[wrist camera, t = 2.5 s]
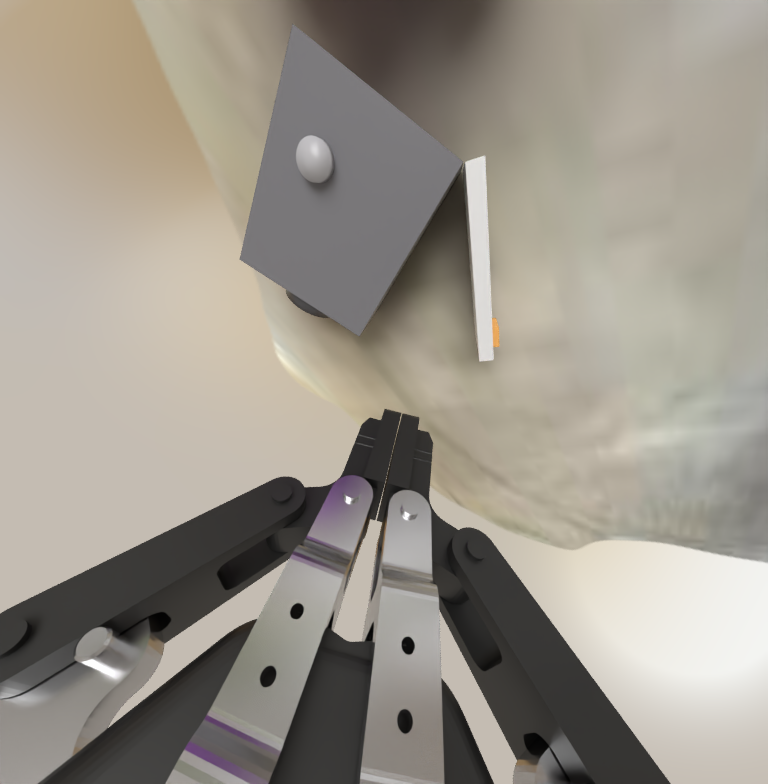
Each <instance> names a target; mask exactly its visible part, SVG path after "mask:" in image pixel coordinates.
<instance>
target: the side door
mask: <svg viewBox="0 0 768 784" xmlns="http://www.w3.org/2000/svg"><path fill="white" fill-rule="evenodd" d="M463 180H464V193H465V207H466V220H467V233H468V246H469V259H470V273H471V286H472V299H473V312H474V325H475V336H476V342H477V349H478V356H479V362H480V361H488V360H494V356H493V347H499V326H498V323H497V320H496V318H492V308H491V284H490V260H489V235H488V211H487V187H486V163H485V156H482V157H479V158H475V159H472V160H469V161H466V162H465V164H464V167H463Z"/></svg>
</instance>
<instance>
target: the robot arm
mask: <svg viewBox="0 0 768 784" xmlns="http://www.w3.org/2000/svg"><path fill="white" fill-rule="evenodd" d="M400 416H401V413H399V412H395V411H391V410H387V409H385V410H384V413H383V416H382V419H381V420H377V419H373V418H369V419H368V420H367V421H365V422H364V423H363V424H362V426H361V428H360V431H359V434H358V436H357V438H356V441H355V444H354V446H353V448H352V451H351V454H350V456H349V459H348V461H347V464H346V466H345V469H344V471H343V473H342V475H341V477H340V478H339V479H338V480H337V481H335V482H334V483H332V484H330V485H328V486H323V487H307V488H306V487H304V486H303V484H302V483H301V482H300V481H299V480H297V479H295V478H292V477H279V478H276V479H273V480H271V481H269V482H267V483H265V484H263V485H261V486H259V487H257V488H255V489H253V490H251V491H249V492H247V493H245V494H242V495H240V496H238V497H236V498H234V499H232V500H231V501H228V502H226V503H224V504H222V505H220V506H218V507H216V508H214V509H212V510H210V511H208V512H206V513H204V514H202V515H199V516H198V517H196V518H194V519H191V520H189V521H187V522H185V523H183V524H181V525H179V526H177V527H175V528H173V529H171V530H169V531H167V532H165V533H163V534H161V535H158V536H156V537H154V538H152V539H150V540H148V541H146V542H144V543H142V544H140V545H138V546H136V547H134V548H132V549H130V550H128V551H126V552H124V553H122V554H120V555H117V556H115V557H113V558H111V559H109V560H107V561H105V562H103V563H101V564H99V565H97V566H95V567H93V568H91V569H89V570H87V571H85V572H83V573H81V574H79V575H77V576H74V577H73V578H70V579H68V580H67V581H64V582H62V583H60V584H58V585H56V586H54V587H52V588H50V589H48V590H46V591H44V592H42V593H40V594H38V595H36V596H34V597H31V598H30V599H28V600H26V601H23V602H21V603H19V604H17V605H15V606H13V607H11V608H9V609H7V610H6V611H4V612H2V613H1V614H0V784H494V783H493V780H492V778H491V776H490V774H489V771H488V770H487V767H486V764H485V762H484V760H483V757H482V755H481V753H480V751H479V748H478V746H477V744H476V741H475V739H474V737H473V735H472V732H471V730H470V728H469V725H468V723H467V721H466V719H465V716H464V714H463V712H462V710H461V708H460V706H459V704H458V702H457V700H456V698H455V697H454V695H453V693H452V692H451V690H450V689H449V687H448V686H447V685H446V683H445V682H444V681H443V679H442V678H441V655H440V654H441V653H440V623H439V621H440V620H439V610H440V612H441V614H442V616H443V618H444V620H445V622H446V624H447V625H448V627H449V629H450V631H451V633H452V635H453V637H454V639H455V641H456V643H457V645H458V647H459V648H460V651H461V652H462V655H463V656H464V658H465V660H466V662H467V664H468V666H469V668H470V670H471V672H472V674H473V676H474V678H475V680H476V682H477V684H478V686H479V687H480V689H481V691H482V693H483V695H484V697H485V699H486V701H487V703H488V705H489V707H490V709H491V711H492V713H493V715H494V716H495V718H496V720H497V722H498V724H499V726H500V728H501V730H502V732H503V734H504V736H505V738H506V740H507V742H508V743H509V746H510V747H511V749H512V751H513V753H514V755H515V757H516V759H517V763H516V765H515V769H514V775H513V784H670V782H669V781H668V780H667V778H666V777H665V776H664V774H663V773H662V771H661V770H660V769H659V767H658V766H657V765H656V763H655V762H654V761H653V759H652V758H651V757H650V755H649V754H648V752H647V751H646V750H645V749H644V747H643V746H642V745H641V743H640V742H639V740H638V739H637V738H636V736H635V735H634V734H633V732H632V731H631V729H630V728H629V727H628V725H627V724H626V723H625V721H624V720H623V719H622V717H621V716H620V714H619V713H618V712H617V710H616V709H615V708H614V706H613V705H612V704H611V702H610V701H609V700H608V698H607V697H606V696H605V694H604V693H603V692H602V690H601V689H600V687H599V686H598V685H597V683H596V682H595V681H594V679H593V678H592V677H591V675H590V674H589V673H588V671H587V670H586V668H585V667H584V666H583V665H582V663H581V662H580V660H579V659H578V658H577V656H576V655H575V653H574V652H573V651H572V650H571V648H570V647H569V645H568V644H567V643H566V641H565V640H564V639H563V637H562V636H561V635H560V633H559V632H558V630H557V629H556V628H555V626H554V625H553V624H552V623H551V621H550V620H549V618H548V617H547V616H546V614H545V613H544V612H543V610H542V609H541V608H540V606H539V605H538V603H537V602H536V601H535V599H534V598H533V597H532V595H531V594H530V593H529V591H528V590H527V589H526V587H525V586H524V584H523V583H522V582H521V580H520V579H519V578H518V577H517V575H516V574H515V572H514V571H513V569H512V568H511V567H510V565H509V564H508V563H507V561H506V560H505V559H504V557H503V556H502V555H501V553H500V552H499V551H498V549H497V548H496V546H495V545H494V544H493V542H492V541H491V540H490V539H489V538H488V537H487V536H486V535H485V534H484V533H482V532H481V531H479V530H477V529H474V528H462V529H460V530H457V529H456V528H454V527H453V526H451V525H449V524H448V523H446V522H445V521H443V520H442V519H441V518H440V517H438V516H437V514H436V513H435V512H434V510H433V509H432V507H431V504H430V501H429V488H430V475H431V462H432V449H433V442H432V439H431V437H430V434H429V433H428V432H425V431H421V430H418V424H419V417H415V416H411V415H407V414H402V418H401V422H400V425H399V421H400ZM398 425H399V429H398ZM397 429H398V433H397ZM396 434H397V437H396ZM395 438H396V441H395ZM394 442H395V445H394ZM393 446H394V449H393ZM392 451H393V453H392ZM391 455H392V457H391ZM390 459H391V462H390ZM389 464H390V466H389ZM388 468H389V470H388ZM387 472H388V475H387ZM386 476H387V479H386ZM385 481H386V483H385ZM384 485H385V488H384ZM383 488H384V492H383ZM382 492H383V496H382ZM381 496H382V501H381V505H380V510H379V514H378V518H377V521H380V522H382V526H381V531H380V536H379V539H378V542H377V548H376V555H375V562H374V569H373V576H372V584H371V591H370V598H369V604H368V610H367V614H366V620H365V625H364V632H363V638H362V642H349V641H346V640H344V639H343V638H342V637H340V636H339V635H337V634H336V633H334V632H333V629H334V627H335V623H336V620H337V617H338V614H339V611H340V608H341V604H342V601H343V598H344V594H345V591H346V588H347V585H348V582H349V580H350V577H351V574H352V571H353V568H354V564H355V562H356V559H357V556H358V553H359V550H360V547H361V544H362V541H363V539H364V538H365V535H366V533H367V529H368V525H369V521H370V519H373V520H375V519H376V515H377V511H378V507H379V503H380V500H381ZM289 558H290V559H289ZM288 559H289V560H288ZM286 560H288V563H287V564H286V566H285V568H284V570H283V572H282V574H281V576H280V578H279V579H278V581H277V583H276V585H275V587H274V589H273V591H272V593H271V595H270V597H269V598H268V601H267V602H266V604H265V606H264V608H263V610H262V612H261V614H260V615H259V618H258V619H255V620H252V621H250V622H247V623H245V624H243V625H241V626H239V627H237V628H236V629H234V630H233V631H231V632H229V633H228V634H227V635H225V636H224V637H223V638H221V639H220V640H219V641H218V642H216V643H215V644H214V645H213V646H211V647H210V648H209V649H207V650H206V651H205V652H204V653H202V654H201V655H200V656H199V657H198V658H196V659H195V660H194V661H192V662H191V663H190V664H189V665H187V666H186V667H185V668H183V669H182V670H181V671H180V672H178V673H177V674H176V675H175V676H173V677H172V678H171V679H170V680H168V681H167V682H166V683H165V684H163V685H162V686H161V687H159V688H158V689H157V690H156V691H154V692H153V693H152V694H151V695H149V696H148V697H147V698H146V699H144V700H143V701H142V702H140V703H139V704H138V705H137V706H135V707H134V708H133V709H132V710H130V711H129V712H128V713H127V714H125V715H124V716H123V717H122V718H120V719H119V720H118V721H116V722H115V723H114V724H113V725H112V726H110V727H109V728H108V726H109V725H110V723H111V721H112V719H113V718H114V716H115V715H116V713H117V712H118V711H119V710H120V708H121V707H122V706H123V705H124V703H126V701H127V700H128V699H129V698H131V697H132V696H133V695H134V694H135V693H136V692H137V691H138V690H140V689H141V688H142V687H143V686H144V685H145V684H146V682H147V681H148V680H149V679H150V678H151V676H152V675H153V673H154V672H155V670H156V669H157V667H158V665H159V663H160V660H161V658H162V655H163V650H164V644H165V643H166V642H168V641H169V640H170V639H172V638H173V637H175V636H176V635H178V634H179V633H181V632H182V631H184V630H185V629H187V628H188V627H190V626H191V625H192V624H194V623H195V622H197V621H198V620H200V619H201V618H203V617H204V616H205V615H207V614H209V613H210V612H212V611H213V610H215V609H216V608H217V607H219V606H220V605H222V604H223V603H225V602H226V601H227V600H229V599H231V598H232V597H234V596H235V595H237V594H238V593H240V592H241V591H242V590H244V589H245V588H247V587H248V586H250V585H251V584H253V583H254V582H256V581H257V580H259V579H260V578H262V577H263V576H264V575H266V574H267V573H269V572H270V571H272V570H273V569H274V568H276V567H278V566H279V565H281V564H282V563H283V562H285V561H286Z"/></svg>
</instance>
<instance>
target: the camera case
mask: <svg viewBox="0 0 768 784" xmlns="http://www.w3.org/2000/svg"><path fill="white" fill-rule="evenodd" d="M462 165H463V161H462V160H460V159H459V158H458V157H457V156H455V155H454V154H453V153H452V152H451V151H449V150H448V149H447V148H446V147H444V146H443V145H442V144H441V143H439V142H438V141H437V140H436V139H434V138H433V137H432V136H431V135H430V134H428V133H427V132H426V131H425V130H423V129H422V128H421V127H420V126H418V125H417V124H416V123H415V122H413V121H412V120H411V119H410V118H409V117H407V116H406V115H405V114H404V113H402V112H401V111H400V110H399V109H397V108H396V107H395V106H394V105H392V104H391V103H390V102H389V101H388V100H386V99H385V98H384V97H383V96H381V95H380V94H379V93H378V92H376V91H375V90H374V89H373V88H371V87H370V86H369V85H368V84H367V83H365V82H364V81H363V80H362V79H360V78H359V77H358V76H357V75H355V74H354V73H353V72H352V71H350V70H349V69H348V68H347V67H346V66H344V65H343V64H342V63H341V62H339V61H338V60H337V59H336V58H334V57H333V56H332V55H331V54H329V53H328V52H327V51H326V50H325V49H323V48H322V47H321V46H320V45H318V44H317V43H316V42H315V41H313V40H312V39H311V38H310V37H308V36H307V35H306V34H305V33H304V32H302V31H301V30H300V29H299V28H297V27H296V26H295V25H294V24H292V29H291V33H290V38H289V42H288V46H287V51H286V55H285V60H284V64H283V69H282V73H281V78H280V82H279V87H278V91H277V95H276V100H275V104H274V109H273V113H272V118H271V122H270V127H269V131H268V136H267V140H266V144H265V149H264V153H263V158H262V162H261V167H260V171H259V176H258V180H257V185H256V189H255V193H254V198H253V202H252V207H251V211H250V216H249V220H248V225H247V229H246V234H245V238H244V242H243V247H242V251H241V256H240V260H241V261H243V262H244V263H246V264H248V265H249V266H251V267H252V268H254V269H255V270H257V271H258V272H260V273H261V274H263V275H265V276H266V277H268V278H269V279H271V280H272V281H274V282H275V283H277V284H279V285H280V286H282V287H283V288H285V289H286V293H287V296H288V298H289V299H290V300H291V301H292V302H293V303H294V304H295V305H296V306H297V307H299V308H300V309H302V310H303V311H305V312H307V313H309V314H312V315H314V316H318V317H322V318H331V319H333V320H334V321H336V322H337V323H339V324H341V325H342V326H344V327H345V328H347V329H348V330H350V331H351V332H353V333H355V334H356V335H358V336H360V335H361V333H362V332H363V330H364V329H365V327H366V326H367V324H368V323H369V321H370V320H371V319H372V317H373V316H374V314H375V313H376V311H377V310H378V308H379V306H380V305H381V303H382V301H383V300H384V298H385V296H386V295H387V293H388V291H389V290H390V288H391V286H392V285H393V283H394V281H395V280H396V278H397V276H398V275H399V273H400V271H401V270H402V268H403V266H404V265H405V263H406V261H407V260H408V258H409V256H410V255H411V253H412V251H413V250H414V248H415V246H416V245H417V243H418V241H419V240H420V238H421V236H422V235H423V233H424V231H425V230H426V228H427V226H428V225H429V223H430V221H431V220H432V218H433V217H434V215H435V213H436V212H437V210H438V208H439V207H440V205H441V203H442V202H443V200H444V198H445V197H446V195H447V193H448V192H449V190H450V188H451V187H452V185H453V183H454V182H455V180H456V178H457V177H458V175H459V173H460V172H461V169H462Z"/></svg>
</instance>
